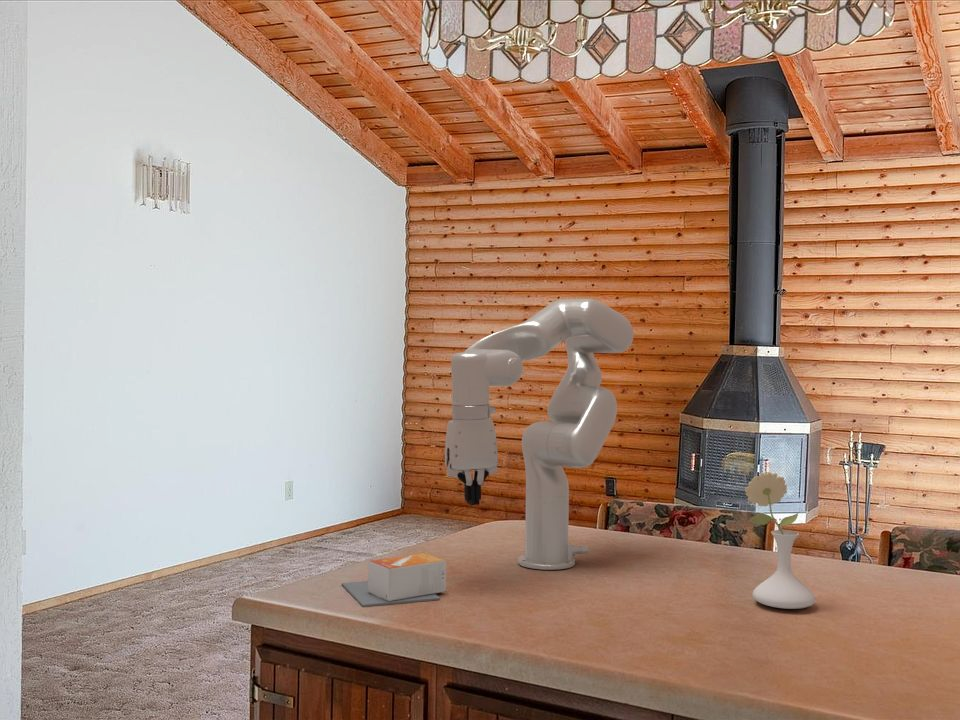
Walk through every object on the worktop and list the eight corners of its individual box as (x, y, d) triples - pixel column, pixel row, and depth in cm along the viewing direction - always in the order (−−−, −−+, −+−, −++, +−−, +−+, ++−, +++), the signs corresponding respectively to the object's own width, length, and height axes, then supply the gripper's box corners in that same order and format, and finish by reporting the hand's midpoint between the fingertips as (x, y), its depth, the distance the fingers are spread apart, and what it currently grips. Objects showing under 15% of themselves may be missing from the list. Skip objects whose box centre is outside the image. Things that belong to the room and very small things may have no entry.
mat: (413, 579, 195) (413, 577, 195) (440, 599, 180) (440, 597, 179) (341, 585, 190) (341, 583, 190) (362, 607, 174) (362, 604, 174)
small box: (447, 559, 184) (388, 568, 176) (446, 592, 184) (388, 602, 176) (424, 551, 190) (367, 560, 182) (424, 583, 190) (367, 592, 183)
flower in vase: (815, 601, 181) (817, 470, 181) (816, 616, 171) (818, 478, 170) (745, 594, 186) (746, 467, 185) (741, 609, 175) (743, 474, 175)
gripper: (498, 409, 197) (500, 497, 198) (429, 414, 191) (432, 504, 192) (512, 413, 190) (514, 503, 191) (441, 417, 184) (444, 511, 185)
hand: (473, 503), depth 191 cm, fingers closed
